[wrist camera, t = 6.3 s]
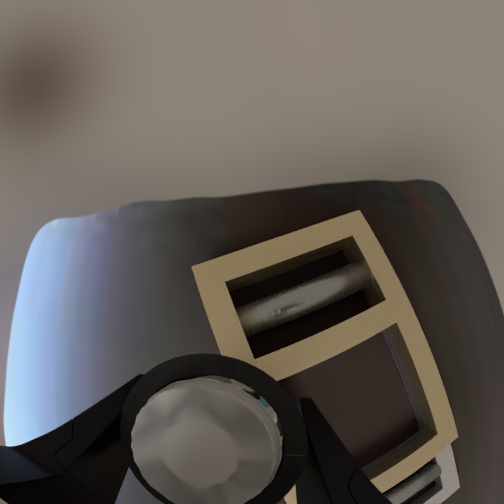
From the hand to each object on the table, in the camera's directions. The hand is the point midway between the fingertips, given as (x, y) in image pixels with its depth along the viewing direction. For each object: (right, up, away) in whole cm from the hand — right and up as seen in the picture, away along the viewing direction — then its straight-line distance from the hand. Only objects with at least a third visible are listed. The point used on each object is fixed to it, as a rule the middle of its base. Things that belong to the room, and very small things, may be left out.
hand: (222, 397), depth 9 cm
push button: (0, -4, +6) cm, 7 cm away
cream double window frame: (+9, -8, +10) cm, 16 cm away
